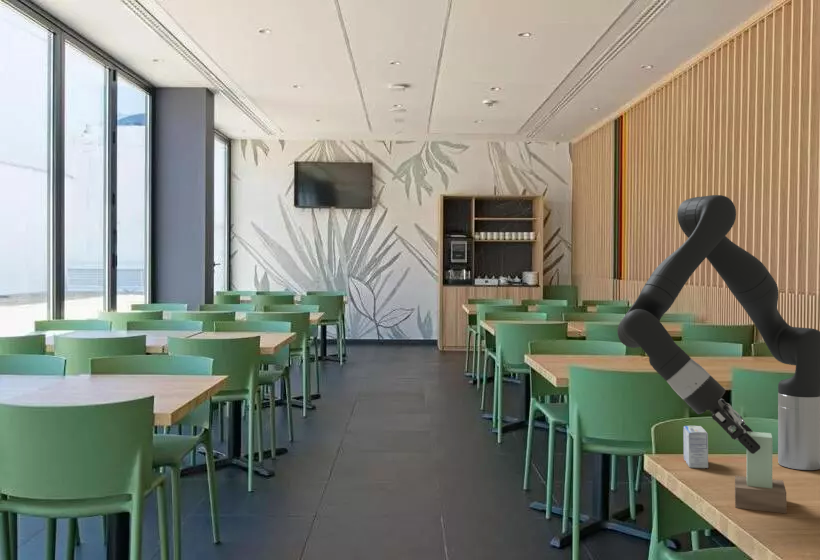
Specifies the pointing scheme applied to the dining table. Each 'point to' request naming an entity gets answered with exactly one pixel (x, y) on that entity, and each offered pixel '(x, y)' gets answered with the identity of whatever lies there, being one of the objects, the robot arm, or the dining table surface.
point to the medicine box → (695, 446)
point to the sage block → (760, 461)
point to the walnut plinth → (760, 496)
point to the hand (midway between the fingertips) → (756, 445)
